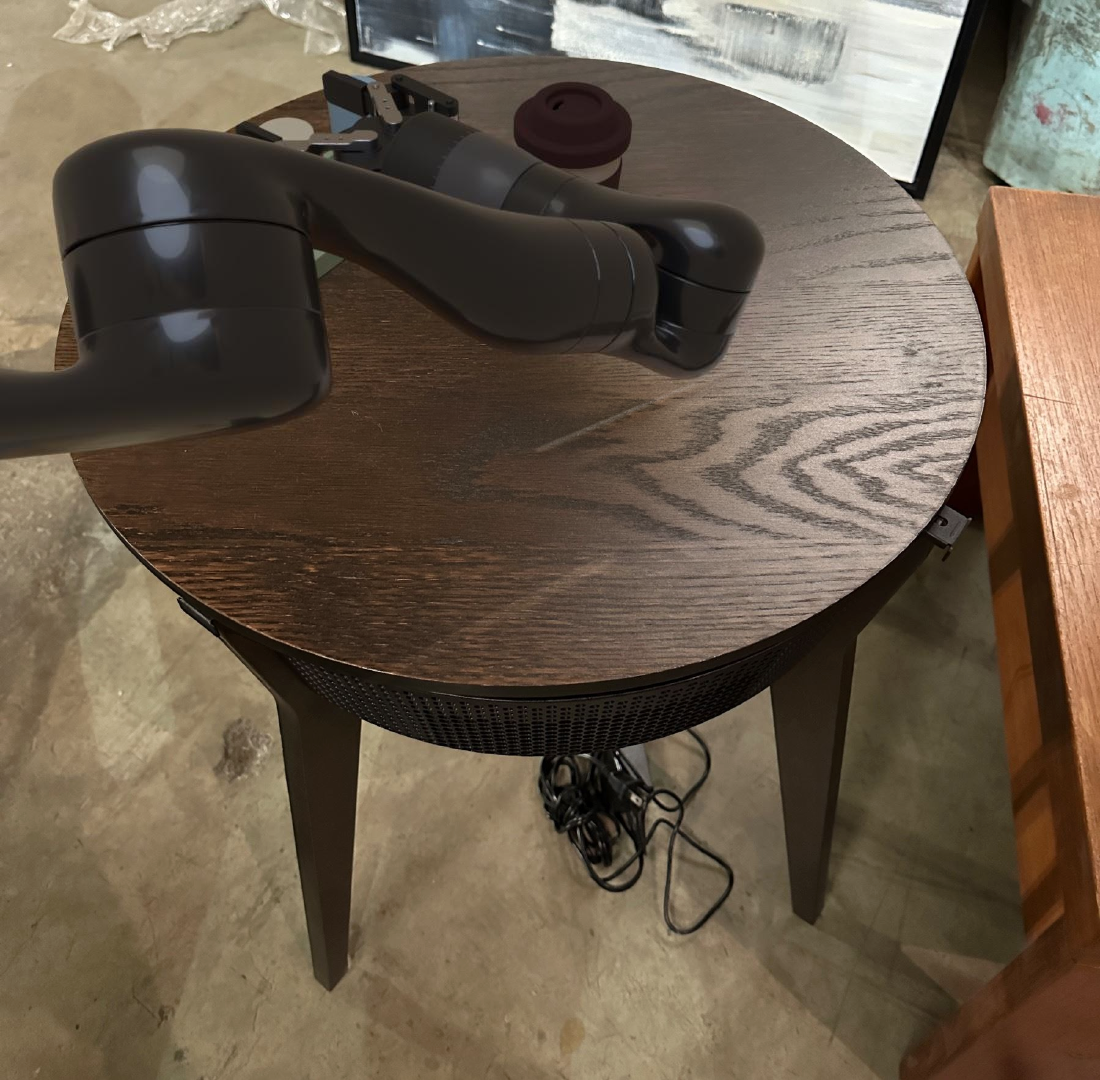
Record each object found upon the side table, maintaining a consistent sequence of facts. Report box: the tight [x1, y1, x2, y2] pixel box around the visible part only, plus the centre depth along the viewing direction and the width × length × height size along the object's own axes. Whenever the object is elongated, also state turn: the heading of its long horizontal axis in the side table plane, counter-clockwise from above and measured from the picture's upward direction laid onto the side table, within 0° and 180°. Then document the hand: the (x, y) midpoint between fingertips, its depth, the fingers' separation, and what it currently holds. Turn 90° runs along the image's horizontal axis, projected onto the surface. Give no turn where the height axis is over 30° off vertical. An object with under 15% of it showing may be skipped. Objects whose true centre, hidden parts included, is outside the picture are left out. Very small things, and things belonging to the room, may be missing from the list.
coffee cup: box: [513, 81, 633, 190], centre depth 90 cm, size 10×10×15 cm
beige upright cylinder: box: [258, 117, 315, 140], centre depth 92 cm, size 5×5×10 cm
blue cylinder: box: [326, 74, 377, 134], centre depth 97 cm, size 5×5×10 cm
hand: (284, 109), depth 72 cm, fingers open, 8 cm apart
